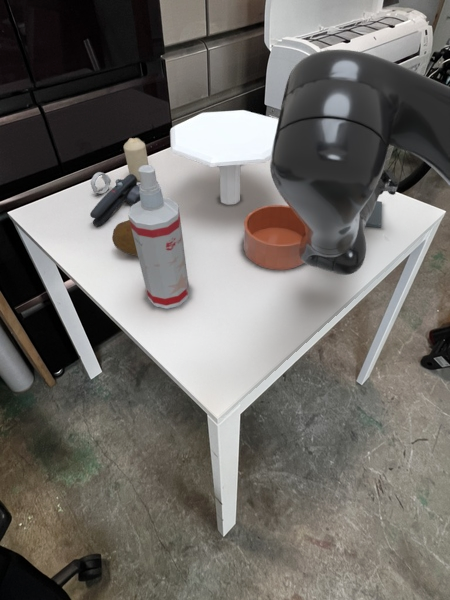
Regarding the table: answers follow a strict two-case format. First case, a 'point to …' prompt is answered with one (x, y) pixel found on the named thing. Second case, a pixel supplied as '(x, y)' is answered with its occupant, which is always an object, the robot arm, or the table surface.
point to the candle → (135, 156)
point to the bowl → (273, 237)
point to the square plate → (376, 216)
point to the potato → (124, 238)
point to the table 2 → (225, 144)
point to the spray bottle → (159, 243)
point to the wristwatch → (106, 180)
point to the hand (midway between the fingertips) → (373, 162)
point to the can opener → (116, 199)
